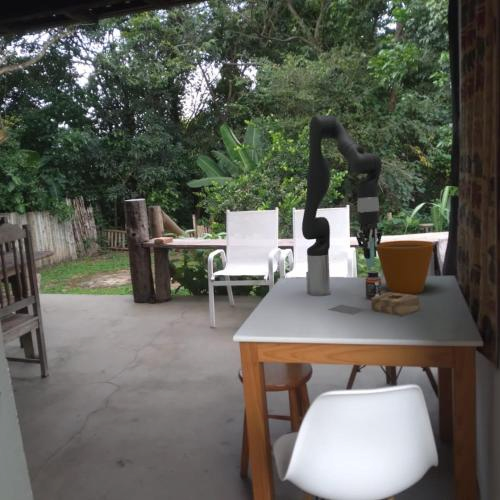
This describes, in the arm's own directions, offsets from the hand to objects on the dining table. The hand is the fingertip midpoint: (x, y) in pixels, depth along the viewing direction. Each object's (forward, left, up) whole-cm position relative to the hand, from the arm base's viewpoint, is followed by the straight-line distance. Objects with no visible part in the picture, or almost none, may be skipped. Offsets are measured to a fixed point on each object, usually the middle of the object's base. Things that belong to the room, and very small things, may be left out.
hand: (370, 257), depth 176 cm
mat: (-8, -5, -20) cm, 22 cm away
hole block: (+6, +5, -20) cm, 21 cm away
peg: (0, 0, -3) cm, 3 cm away
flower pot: (-9, +37, -20) cm, 43 cm away
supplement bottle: (-10, +15, -20) cm, 27 cm away
